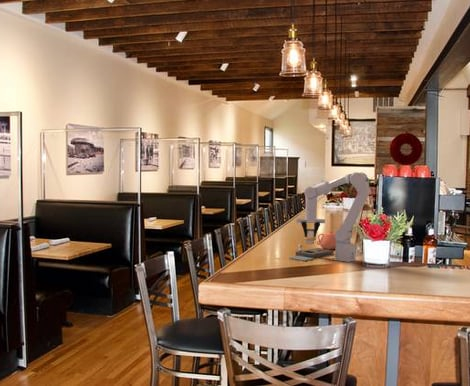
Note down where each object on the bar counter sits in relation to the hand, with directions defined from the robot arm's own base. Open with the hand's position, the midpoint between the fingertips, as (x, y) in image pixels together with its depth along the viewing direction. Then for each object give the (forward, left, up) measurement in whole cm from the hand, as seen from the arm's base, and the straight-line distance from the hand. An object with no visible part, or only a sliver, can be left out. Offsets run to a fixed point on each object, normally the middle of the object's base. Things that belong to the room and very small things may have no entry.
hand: (310, 237), depth 252 cm
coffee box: (-15, -34, -10) cm, 38 cm away
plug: (0, 0, -3) cm, 3 cm away
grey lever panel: (0, -5, -10) cm, 11 cm away
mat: (-3, +11, -10) cm, 15 cm away
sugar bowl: (+7, -29, -10) cm, 31 cm away
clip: (+6, +1, -8) cm, 9 cm away
